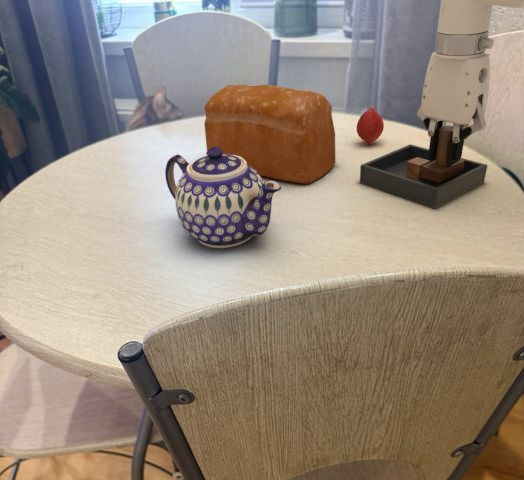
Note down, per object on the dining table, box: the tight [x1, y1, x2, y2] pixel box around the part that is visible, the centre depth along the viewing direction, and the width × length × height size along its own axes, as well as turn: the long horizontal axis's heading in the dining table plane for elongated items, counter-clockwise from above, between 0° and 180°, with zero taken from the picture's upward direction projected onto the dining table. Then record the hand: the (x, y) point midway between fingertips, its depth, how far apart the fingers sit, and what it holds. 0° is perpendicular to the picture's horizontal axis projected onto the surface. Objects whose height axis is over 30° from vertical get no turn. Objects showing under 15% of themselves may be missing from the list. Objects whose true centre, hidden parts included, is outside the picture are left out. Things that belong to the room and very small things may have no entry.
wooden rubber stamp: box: [421, 125, 465, 187], centre depth 94 cm, size 7×4×9 cm, turn 129°
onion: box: [356, 105, 385, 145], centre depth 117 cm, size 6×6×8 cm
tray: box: [359, 143, 488, 210], centre depth 100 cm, size 18×15×4 cm
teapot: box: [164, 147, 282, 249], centre depth 86 cm, size 25×15×15 cm, turn 48°
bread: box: [204, 83, 336, 184], centre depth 109 cm, size 14×26×16 cm, turn 55°
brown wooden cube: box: [406, 157, 430, 181], centre depth 100 cm, size 3×3×3 cm
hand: (444, 159), depth 95 cm, fingers closed on wooden rubber stamp, 3 cm apart
